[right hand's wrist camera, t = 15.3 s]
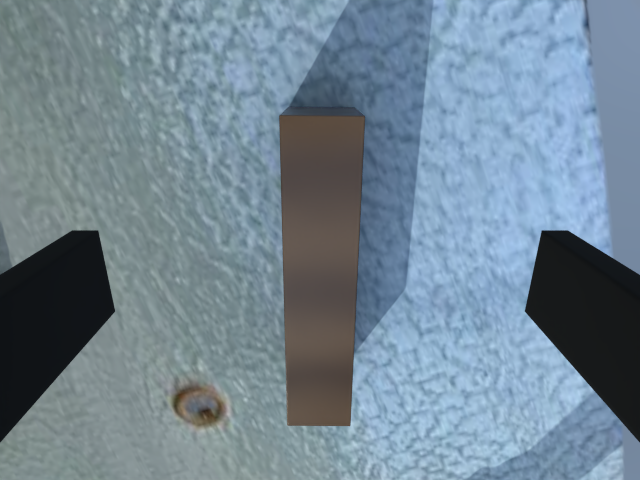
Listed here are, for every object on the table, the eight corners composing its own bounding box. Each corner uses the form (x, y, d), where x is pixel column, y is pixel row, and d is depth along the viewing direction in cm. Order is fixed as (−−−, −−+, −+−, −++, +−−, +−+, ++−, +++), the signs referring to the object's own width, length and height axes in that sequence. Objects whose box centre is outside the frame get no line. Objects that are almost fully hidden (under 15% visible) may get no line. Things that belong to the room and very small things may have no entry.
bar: (288, 106, 34) (279, 115, 26) (355, 107, 34) (365, 115, 26) (292, 365, 44) (287, 425, 36) (345, 366, 44) (350, 426, 36)
